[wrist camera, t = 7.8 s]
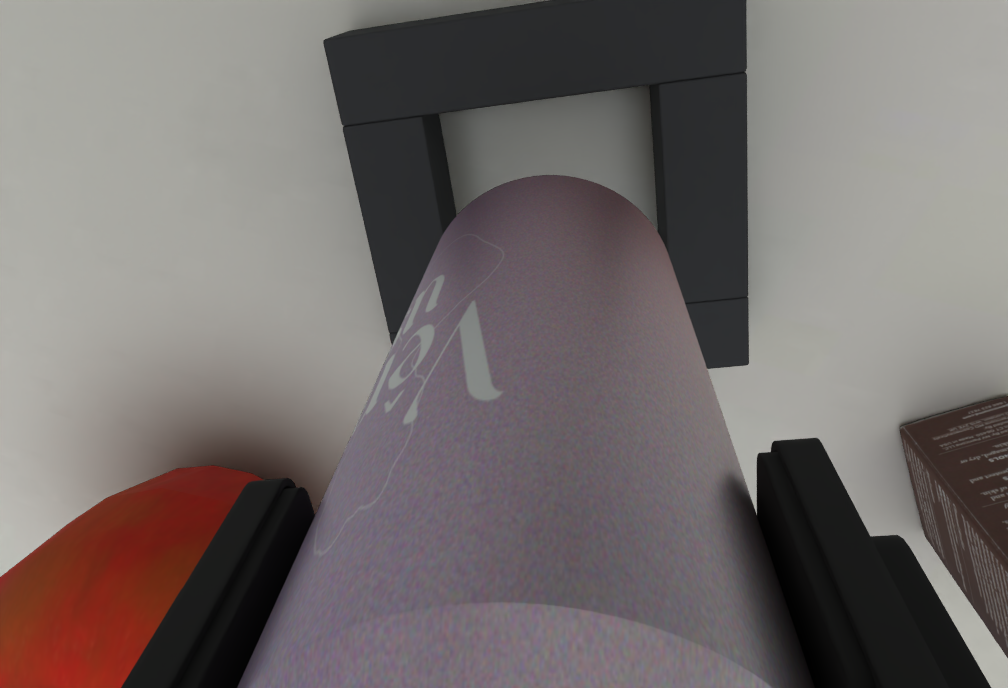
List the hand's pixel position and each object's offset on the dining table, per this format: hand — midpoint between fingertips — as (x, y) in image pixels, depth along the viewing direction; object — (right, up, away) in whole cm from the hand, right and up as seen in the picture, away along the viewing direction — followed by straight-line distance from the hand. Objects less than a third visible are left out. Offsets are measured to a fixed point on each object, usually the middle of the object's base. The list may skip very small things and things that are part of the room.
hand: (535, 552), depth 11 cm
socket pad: (+1, +8, +16) cm, 18 cm away
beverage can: (+1, +4, +9) cm, 10 cm away
